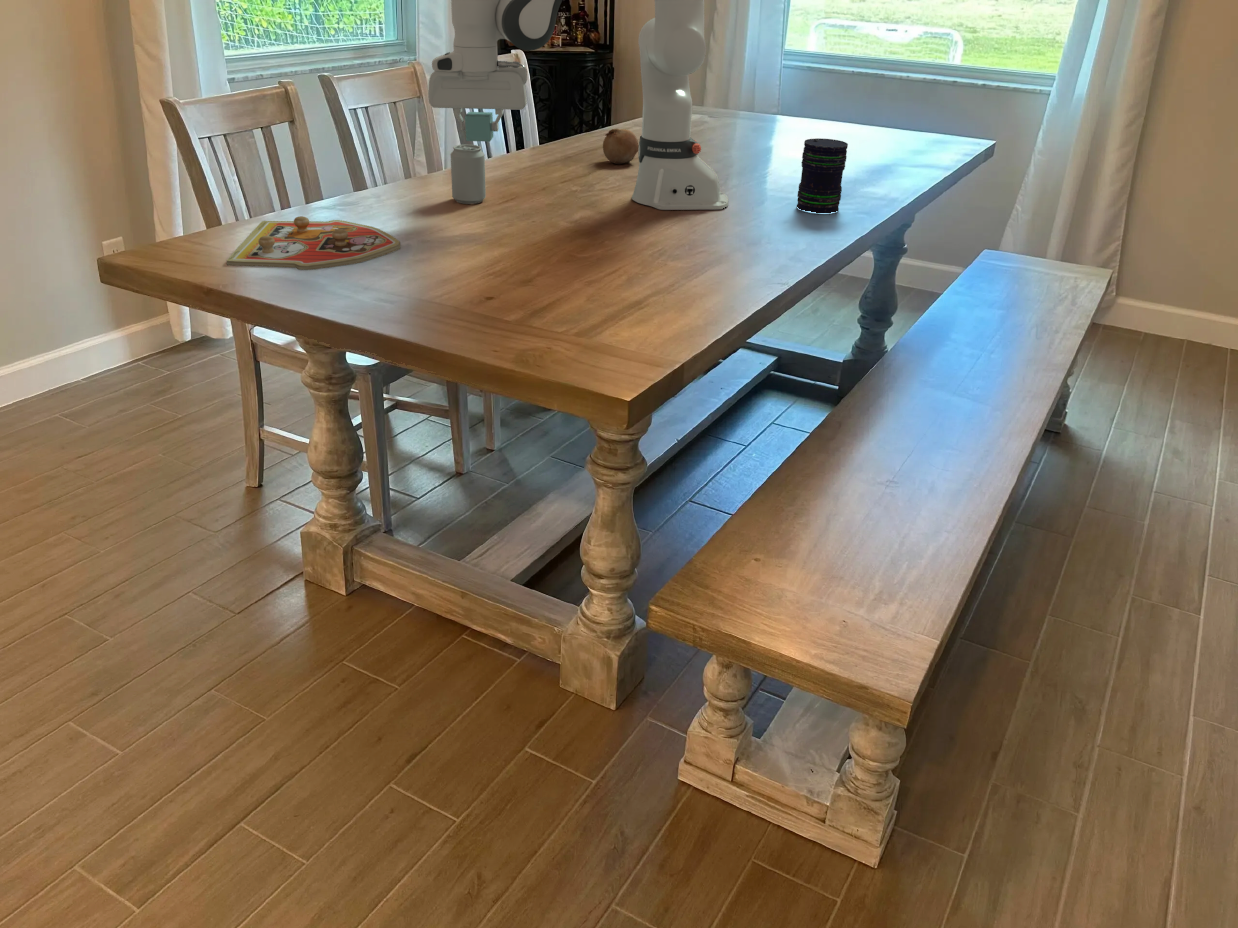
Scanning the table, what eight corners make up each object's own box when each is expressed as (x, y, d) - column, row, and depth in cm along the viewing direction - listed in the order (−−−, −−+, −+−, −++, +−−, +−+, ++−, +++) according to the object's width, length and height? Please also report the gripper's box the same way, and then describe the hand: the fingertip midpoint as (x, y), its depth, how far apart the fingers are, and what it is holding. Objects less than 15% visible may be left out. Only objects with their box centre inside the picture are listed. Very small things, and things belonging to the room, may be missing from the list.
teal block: (493, 136, 213) (492, 112, 211) (490, 141, 209) (488, 116, 206) (470, 136, 213) (468, 111, 211) (466, 141, 209) (464, 116, 206)
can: (479, 206, 222) (477, 151, 217) (447, 203, 224) (445, 148, 218) (490, 198, 229) (488, 144, 223) (459, 195, 230) (456, 141, 224)
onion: (608, 176, 266) (593, 142, 260) (614, 159, 272) (600, 125, 266) (641, 166, 262) (626, 131, 256) (646, 149, 269) (632, 115, 263)
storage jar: (847, 210, 231) (856, 143, 224) (823, 217, 225) (833, 149, 217) (811, 201, 237) (819, 136, 230) (787, 208, 231) (795, 141, 223)
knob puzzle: (263, 226, 204) (260, 204, 202) (409, 229, 206) (408, 207, 204) (223, 272, 179) (219, 247, 177) (390, 274, 181) (388, 250, 179)
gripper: (528, 59, 206) (530, 129, 213) (430, 57, 206) (435, 126, 213) (525, 63, 200) (527, 134, 207) (423, 61, 201) (429, 132, 208)
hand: (479, 130), depth 210 cm, fingers closed on teal block, 5 cm apart
